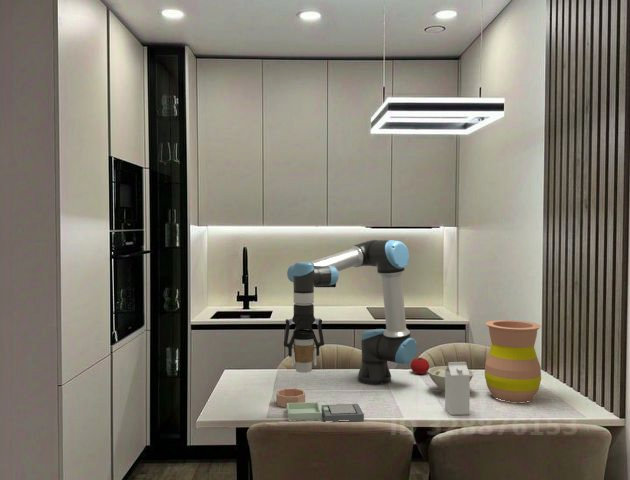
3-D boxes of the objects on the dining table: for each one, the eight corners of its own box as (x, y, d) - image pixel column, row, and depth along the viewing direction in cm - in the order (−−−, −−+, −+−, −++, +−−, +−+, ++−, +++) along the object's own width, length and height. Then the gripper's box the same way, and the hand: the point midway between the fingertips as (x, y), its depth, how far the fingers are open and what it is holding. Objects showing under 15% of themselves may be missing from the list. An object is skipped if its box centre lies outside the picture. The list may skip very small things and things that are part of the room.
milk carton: (444, 409, 214) (445, 360, 214) (462, 408, 215) (463, 359, 214) (450, 415, 207) (451, 364, 207) (469, 414, 208) (469, 364, 207)
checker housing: (357, 410, 213) (357, 402, 213) (363, 421, 201) (363, 412, 201) (321, 411, 212) (321, 403, 212) (325, 422, 200) (325, 414, 200)
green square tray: (318, 408, 215) (318, 402, 215) (322, 419, 203) (321, 412, 203) (286, 410, 213) (286, 403, 213) (288, 421, 201) (288, 413, 201)
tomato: (410, 370, 271) (410, 354, 271) (428, 371, 270) (428, 355, 270) (410, 375, 262) (410, 358, 262) (429, 376, 261) (430, 359, 261)
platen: (352, 407, 211) (352, 404, 211) (356, 415, 202) (356, 412, 202) (328, 408, 210) (328, 405, 210) (331, 416, 202) (331, 413, 201)
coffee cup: (301, 366, 213) (301, 327, 213) (319, 369, 209) (319, 330, 208) (288, 371, 206) (287, 331, 206) (306, 374, 202) (306, 333, 201)
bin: (303, 398, 228) (303, 388, 228) (306, 407, 217) (306, 396, 216) (276, 399, 226) (276, 389, 226) (277, 408, 215) (277, 397, 215)
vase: (482, 402, 222) (483, 327, 222) (485, 387, 243) (486, 318, 242) (542, 408, 215) (542, 331, 214) (540, 392, 236) (540, 321, 235)
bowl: (466, 402, 222) (466, 377, 222) (420, 394, 232) (420, 371, 232) (479, 390, 239) (479, 367, 238) (436, 383, 249) (436, 361, 249)
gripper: (329, 301, 212) (329, 361, 212) (275, 302, 210) (275, 363, 210) (332, 304, 204) (332, 366, 205) (276, 305, 202) (276, 368, 203)
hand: (303, 364), depth 208 cm, fingers closed on coffee cup, 8 cm apart
